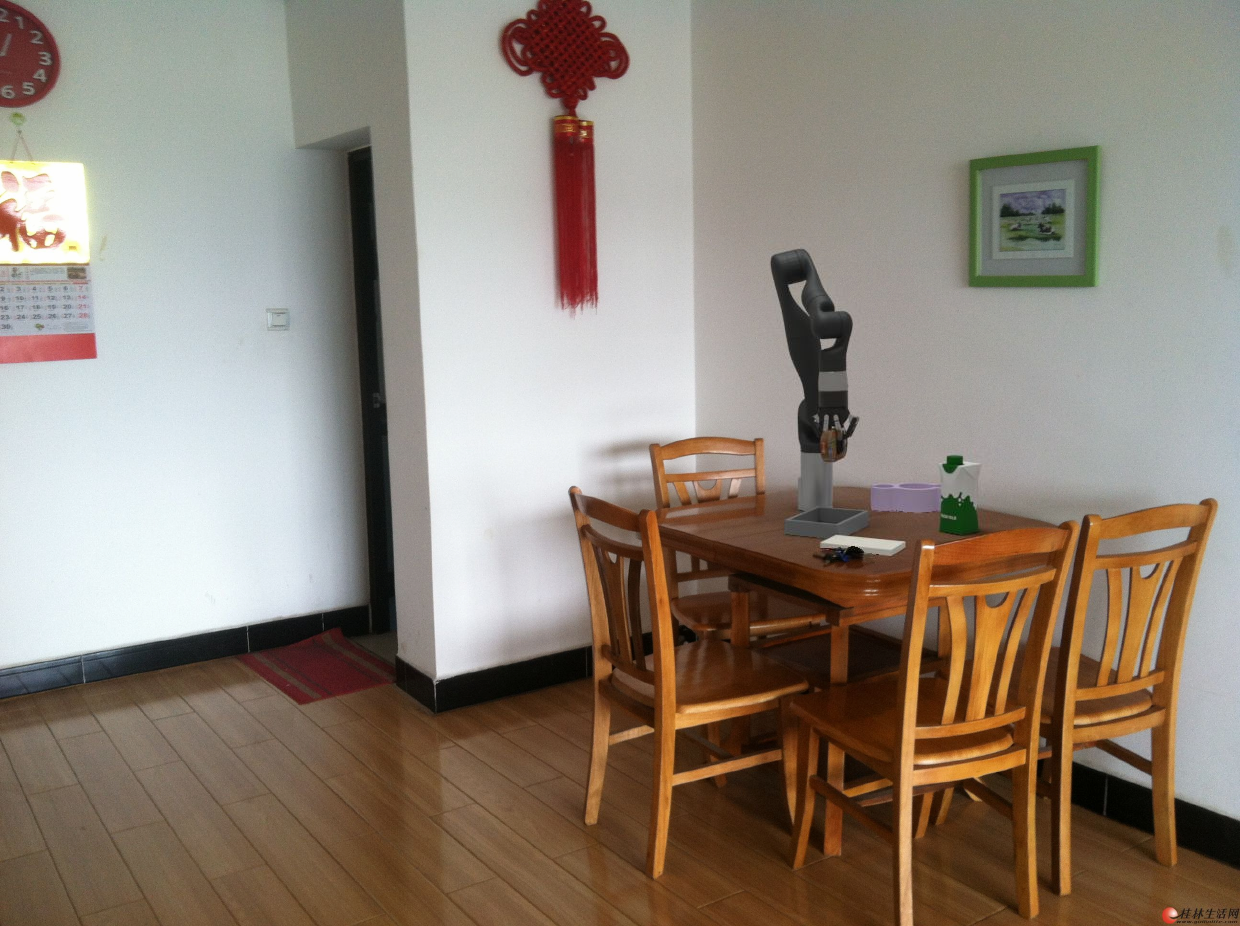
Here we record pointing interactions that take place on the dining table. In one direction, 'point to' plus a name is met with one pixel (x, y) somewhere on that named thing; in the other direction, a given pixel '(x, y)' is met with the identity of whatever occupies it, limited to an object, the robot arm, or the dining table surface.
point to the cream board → (865, 544)
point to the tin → (831, 446)
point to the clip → (906, 497)
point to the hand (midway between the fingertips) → (834, 453)
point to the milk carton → (959, 495)
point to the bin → (811, 527)
